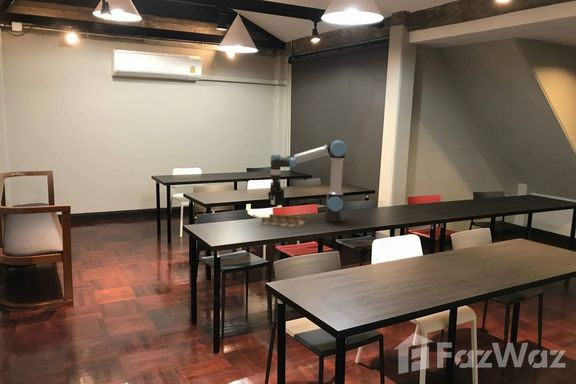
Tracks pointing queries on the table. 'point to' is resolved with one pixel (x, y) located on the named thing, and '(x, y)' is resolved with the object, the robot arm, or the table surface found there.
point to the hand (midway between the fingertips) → (275, 203)
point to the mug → (278, 197)
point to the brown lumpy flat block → (284, 220)
